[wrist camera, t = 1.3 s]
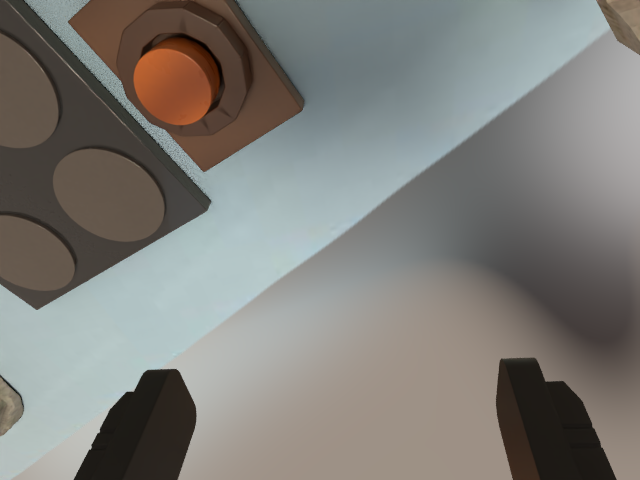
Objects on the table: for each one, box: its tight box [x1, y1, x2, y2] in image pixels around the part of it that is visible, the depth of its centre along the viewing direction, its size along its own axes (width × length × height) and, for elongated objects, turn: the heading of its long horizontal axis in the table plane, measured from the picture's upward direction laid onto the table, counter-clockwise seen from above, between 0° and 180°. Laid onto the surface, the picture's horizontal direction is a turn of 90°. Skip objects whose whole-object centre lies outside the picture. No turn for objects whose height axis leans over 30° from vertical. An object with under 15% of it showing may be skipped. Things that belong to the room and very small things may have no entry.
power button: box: [134, 37, 220, 125], centre depth 25 cm, size 4×4×2 cm
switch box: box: [68, 0, 304, 172], centre depth 26 cm, size 11×8×3 cm
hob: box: [0, 0, 211, 310], centre depth 33 cm, size 18×20×2 cm
